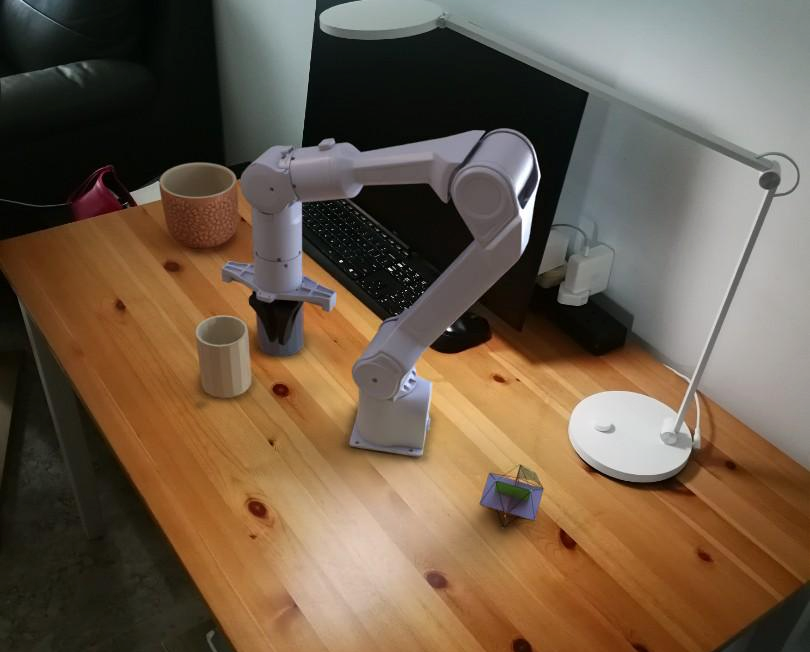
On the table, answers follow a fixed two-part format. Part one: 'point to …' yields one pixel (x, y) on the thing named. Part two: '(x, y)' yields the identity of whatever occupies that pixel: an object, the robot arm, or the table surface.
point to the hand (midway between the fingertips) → (279, 339)
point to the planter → (200, 204)
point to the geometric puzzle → (513, 494)
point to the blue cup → (274, 347)
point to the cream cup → (224, 356)
